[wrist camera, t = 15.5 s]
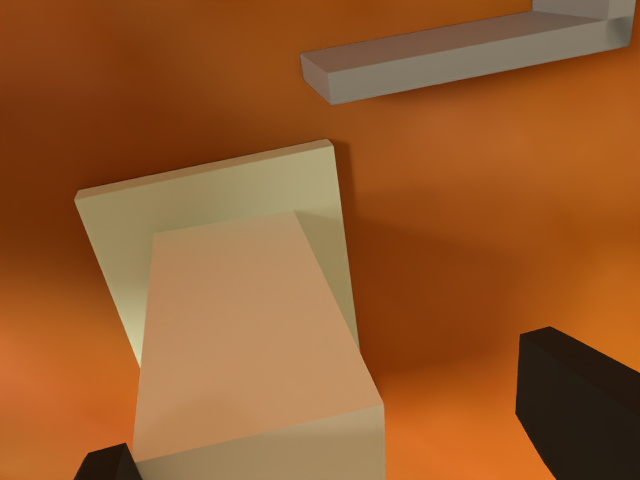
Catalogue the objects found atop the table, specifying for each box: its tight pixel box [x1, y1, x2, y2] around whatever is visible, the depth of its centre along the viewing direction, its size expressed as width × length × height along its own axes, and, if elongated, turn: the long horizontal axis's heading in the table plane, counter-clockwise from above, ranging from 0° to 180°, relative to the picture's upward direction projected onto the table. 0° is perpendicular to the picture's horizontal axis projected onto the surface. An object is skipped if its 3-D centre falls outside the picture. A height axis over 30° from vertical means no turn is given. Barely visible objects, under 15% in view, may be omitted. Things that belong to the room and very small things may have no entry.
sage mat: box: [74, 139, 360, 367], centre depth 20 cm, size 8×12×1 cm, turn 8°
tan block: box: [132, 210, 386, 480], centre depth 15 cm, size 4×8×9 cm, turn 5°
